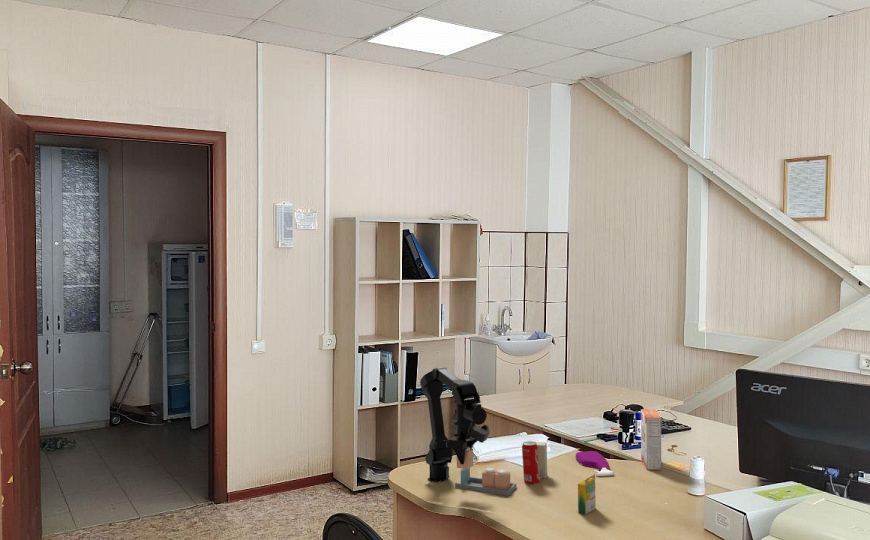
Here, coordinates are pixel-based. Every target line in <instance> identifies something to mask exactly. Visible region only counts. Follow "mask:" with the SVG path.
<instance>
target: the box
mask: <svg viewBox="0 0 870 540" xmlns="http://www.w3.org/2000/svg"><path fill="white" fill-rule="evenodd" d="M535 442H536V444H537V447H538V462H539V477H540V479H541V478H542V479H547V478H548V449H547V447H548V445H547V442H539V441H535Z"/></svg>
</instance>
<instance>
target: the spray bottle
mask: <svg viewBox="0 0 870 540" xmlns="http://www.w3.org/2000/svg"><path fill="white" fill-rule="evenodd" d="M575 458H576V460H577V462H578V463H579V464H580V465H581V466H583V467H588V468H594V469H593V472H594V474H595V477H606V476H607V477H610V476H615V471H612V470H609V469H610V467H609V466H610V465H609V462H608V461H607V459H606V457H604V456H603V455H602V454H601V453H599V452H598V451H596V450H595V451H594V450H593V451H591V450H589V451H586V450H585V451H577V452H576V453H575ZM595 468H597V470H595Z"/></svg>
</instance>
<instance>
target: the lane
mask: <svg viewBox="0 0 870 540" xmlns="http://www.w3.org/2000/svg"><path fill="white" fill-rule="evenodd" d="M454 488H457V489H463V490H470V491H476V492H482V493H488V494H497V495H502V496H510V495H511V494H512V493H513V492H514V491H515V490H516V489H517V483H516V482H510V488H509V489H508V490H502V489H495V488H489V487H482V477H473V476H470V480H469V481H468V482H466V483H465V484H462V483H461V482H455V483H454Z"/></svg>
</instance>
